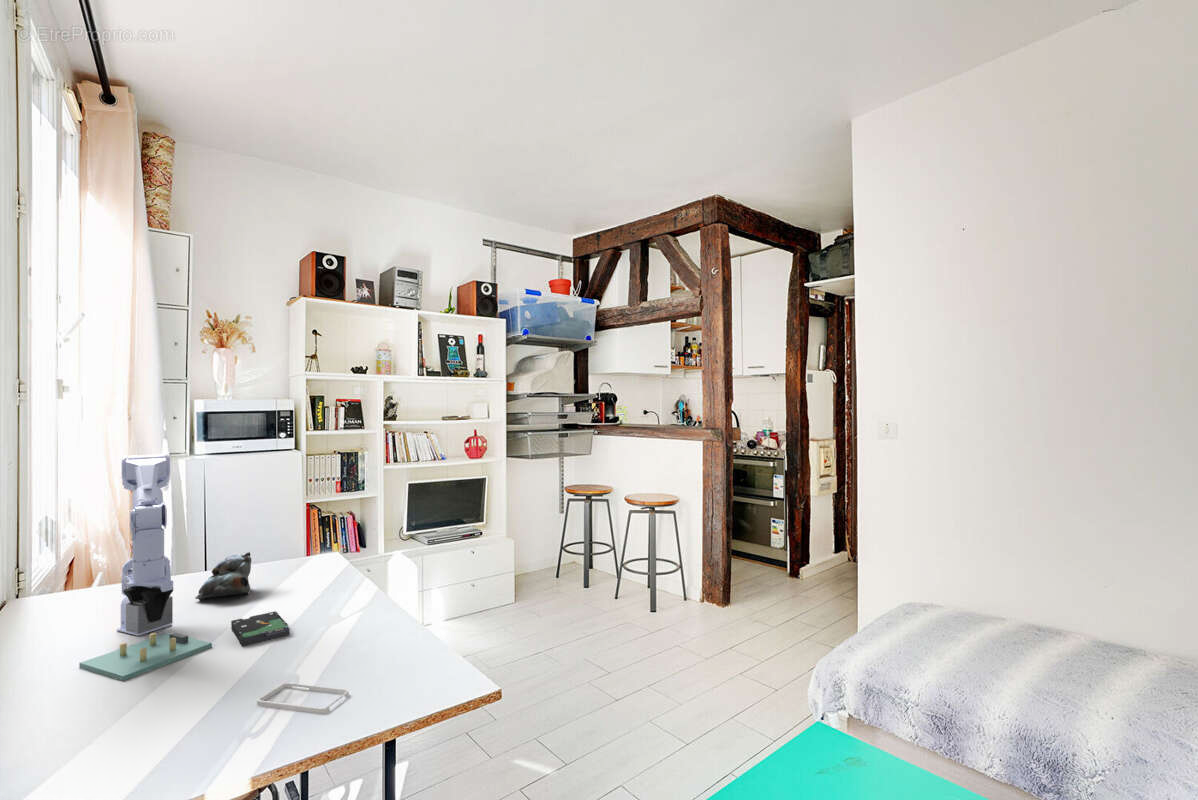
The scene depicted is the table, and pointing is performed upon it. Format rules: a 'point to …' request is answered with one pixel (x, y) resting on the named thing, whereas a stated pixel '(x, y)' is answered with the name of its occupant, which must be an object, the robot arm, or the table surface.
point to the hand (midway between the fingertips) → (148, 619)
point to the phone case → (299, 707)
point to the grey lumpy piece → (228, 578)
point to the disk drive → (259, 628)
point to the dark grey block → (146, 616)
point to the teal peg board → (145, 655)
